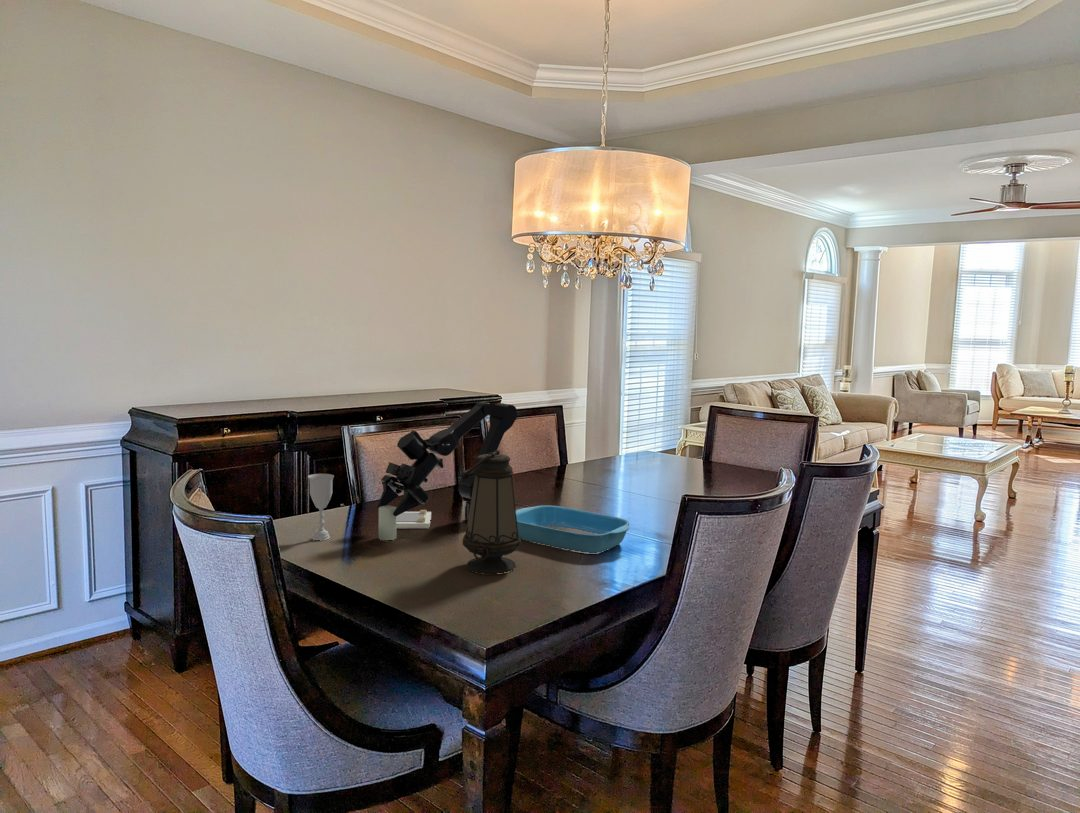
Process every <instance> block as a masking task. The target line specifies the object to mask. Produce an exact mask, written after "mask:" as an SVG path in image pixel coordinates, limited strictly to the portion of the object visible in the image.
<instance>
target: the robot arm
mask: <svg viewBox="0 0 1080 813" xmlns="http://www.w3.org/2000/svg"><path fill="white" fill-rule="evenodd" d="M487 416H489V429H488V431H487V433H486V435H485V438H484V440H483V443H482V445H481V447H480V450H479V452H478V454H477V457H478V456H480V455H483V454H489V453H493V451H494V450H499V446H500V445H501V442H502V440H503V437H504V436H505V433H506V432H507V431H508V430H510V429H511V427H513V425H514V424H515V423H516V420H517V418H518V416H519V412H518V409H517V408H516V406H515V405H513V404H510V403H509V404H508V403H502V402H497V403H495V404H492V403H490V402H484V401H479V402H476V404H474V406H473V407H471V409H469V410H468V411H467V412H466V413H465V414H463V415H462V416H461V417H460V418H459V419H457V420H456V421H455V422H454V423H453V424H452V425H450V426H449V427H447V428H444V429H441V430H439V431H437V432H436V433H434V434H432V435H431V436H430V437H429V438H426V439H423V438H422V437H421V436H420V434H419V433H418V432H417V431H416V430H411V431H410V432H409V433H406V434H405V435H403V436H401V438H399V440H398V442H397V444H396V447H397V448H398V449H399V450H401V452H402V453H403V454H404V455H405V456H406V457H407V459H408V460H411V461H413V460H414V461H413V463H412V464H411V465H409V464H405V463H401V465H399V464H396V463H394V462H388V465H387V468H386V470H385V473H386V474H385V475H383V477H382V478H381V479H380V481H381V485H382V489H383V490H382V494H381V496H380V499H379V501H378V503H377V506H376V508H377V509H378V510H379V507H381V506H388V505H389V503H391V502H392V501H394V500H396V498H398V497H399V494H401V493H402V492H403V495H402V496H403V497H402V499H401V500H400V502H399V503H398V505H397V506H396V507H397V508H396V509H395V511H394V512H393V515H394V516H398V515H400V514H402V513H404V512H409V510H411V509H414V508H416V507H419V506H422V505H426V504H427V503H428V501H429V500H430V497H429V496H430V494H428V492H427V491H425V490H424V488H423V487H421V486H422V484H423V483H427V482H428V481H429V479H428V476H429V475H430V474H431V473H432V472H433V471H434V469H435V468H440V469H443V468H444V462H443V461H444V459H443V458H441V457H438V456H437V455H439V456H443V457H447V456H449V455H450V454H452V453H453V451H454V450H455V449H456V448H457V447H458V445H459V442H460V441H461V439H462V438H463V437H464V436H465V435H466V434H467V433H469V432H470V431H471V430H472V429H473V428H474V427H475V426H477V425H478V424H479V423H480V422H482V421H483V420H484V419H485V418H486V417H487ZM435 454H436V455H435ZM477 457H476V459H475V461H474V463H473V466H474V465H475V464H477V463H478V460H477ZM474 476H475V474H474V475H473V476H471V477H469V478H467V479H463V478H462V477H461V476H460V477H461V478H460V480H459V481H458V482H457V483H458V487H457V488H458V493H459V495H460V496H461V498H462V501H463V502H465V506H464V519H462V523H465V522H466V523H465V524H467V521H468V515H469V508H470V502H471V495H472V489H473V483H474Z"/></svg>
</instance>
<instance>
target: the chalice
mask: <svg viewBox="0 0 1080 813" xmlns="http://www.w3.org/2000/svg"><path fill="white" fill-rule="evenodd" d="M334 477H335V475H334V474H332V473H331V474H330V473H314V474H309V475H307V478H308V480H309V496H310V497H311V500H312V502H313V504H314V506H315V508H316V509H318V510H319V513H318V515H317V516H318V518H319V520H318V521H317V523H318V524H319V526H318V529H317V530H316V531H315V532H314V534H313V537H312V538H311V540H312V539H314V540H320V541H319V542H323V541H322V540H327V539H329V538H331V536H330V533H329V532H328V530H327V529H325V528H324V524H325V520H324V517H325V514H324V509H326V508H327V507H328V504H329V503H330V501H331V499H332V495H333V481H334ZM314 540H313V541H314ZM329 540H330V539H329ZM327 541H328V540H327Z"/></svg>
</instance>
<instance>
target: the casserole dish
mask: <svg viewBox="0 0 1080 813" xmlns="http://www.w3.org/2000/svg"><path fill="white" fill-rule="evenodd" d="M516 518H517V527H518V534H519V537H520V538H521V540H522V539H524V540H527V541H531V542H536V543H540V544H545V545H550V546H554V547H559V548H564V549H569V550H575V551H581V552H589V553H597V552H602V551H605V550H607V549H609V550H611V549H610V548H612V547H614V546H615V547H617V546H619V545H620V544H621V543H622V542H623V540H624V539H625V536H626V534H627V532H628V531H629V530H630V527H629V526H630V521H629V520H627V519H625V518H622V517H618V516H614V515H613V516H612V515H608V514H602V513H598V512H592V511H587V510H581V509H576V508H571V507H570V508H569V507H566V506H559V505H548V504H547V505H537V506H531V507H524V508H523V507H522V508H520V509H519V508H518V509H516ZM548 526H550V527H552V526H553V527H564V528H571V529H578V530H582V531H587V532H592V533H597V534H599V535H590V534H581V533H575V532H569V531H564V530H559V529H553V528H550V527H549V528H548ZM524 540H523V541H524ZM527 541H526V542H527ZM531 542H530V543H531ZM616 545H617V546H616ZM615 547H614V548H615ZM612 549H613V548H612Z"/></svg>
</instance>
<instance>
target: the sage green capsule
mask: <svg viewBox="0 0 1080 813" xmlns="http://www.w3.org/2000/svg"><path fill="white" fill-rule="evenodd" d="M396 508H397V506H394V505H386V506H381V507H379V509H378V540H379V539H380V540H379V541H381V540H386V541H385V542H388V541H387V540H393V541H395V540H394V539H396V540H397V528H396V525H397V516H394V515H393V512H394V511H395V509H396Z"/></svg>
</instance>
